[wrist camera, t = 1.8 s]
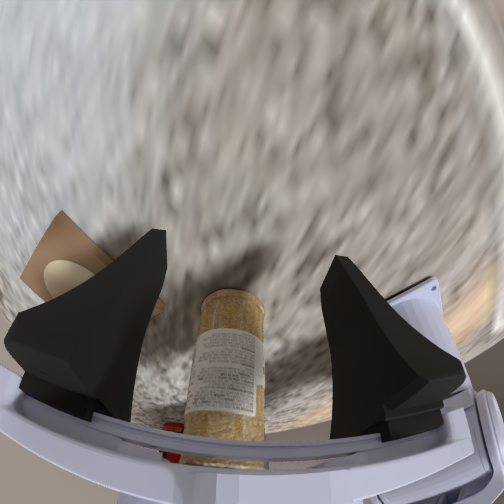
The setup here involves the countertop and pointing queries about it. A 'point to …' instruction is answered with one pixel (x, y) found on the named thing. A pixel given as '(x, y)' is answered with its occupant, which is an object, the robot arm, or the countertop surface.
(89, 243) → the spice coaster
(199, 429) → the spice jar
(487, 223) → the countertop surface
